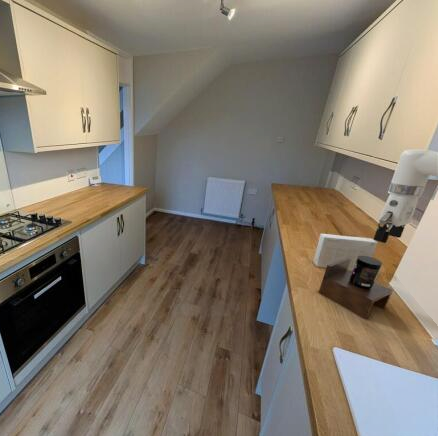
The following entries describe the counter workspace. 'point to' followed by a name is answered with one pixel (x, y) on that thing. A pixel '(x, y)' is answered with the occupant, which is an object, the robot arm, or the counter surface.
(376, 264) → the supplement container
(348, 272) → the shelf
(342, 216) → the counter surface
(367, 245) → the skincare box
